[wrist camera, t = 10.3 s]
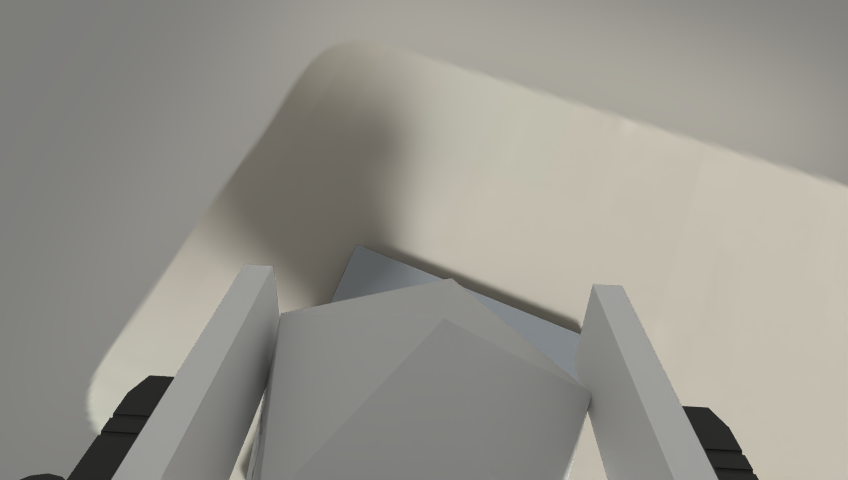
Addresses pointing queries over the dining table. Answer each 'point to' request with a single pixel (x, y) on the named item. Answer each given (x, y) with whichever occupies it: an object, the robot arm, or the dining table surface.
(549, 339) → the slate board
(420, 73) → the dining table surface
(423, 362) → the die
